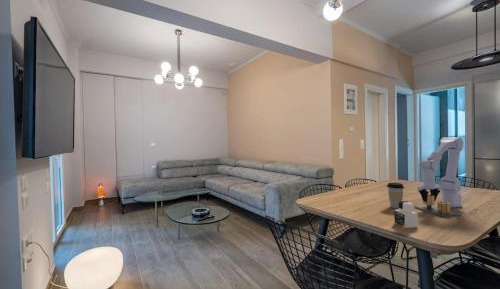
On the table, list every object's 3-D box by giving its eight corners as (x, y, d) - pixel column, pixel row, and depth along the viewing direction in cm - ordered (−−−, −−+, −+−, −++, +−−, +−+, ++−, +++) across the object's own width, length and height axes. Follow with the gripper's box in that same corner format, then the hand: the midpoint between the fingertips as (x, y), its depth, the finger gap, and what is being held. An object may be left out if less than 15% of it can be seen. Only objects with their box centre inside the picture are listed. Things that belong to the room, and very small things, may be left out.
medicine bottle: (394, 223, 120) (394, 200, 120) (406, 222, 121) (406, 199, 121) (404, 228, 113) (404, 204, 113) (417, 227, 114) (417, 203, 114)
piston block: (430, 206, 147) (430, 196, 147) (460, 215, 130) (460, 204, 130) (414, 207, 146) (414, 197, 145) (442, 217, 128) (442, 205, 128)
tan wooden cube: (428, 202, 146) (428, 193, 146) (436, 204, 140) (436, 195, 140) (420, 203, 145) (420, 194, 145) (429, 205, 139) (428, 196, 139)
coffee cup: (407, 209, 142) (407, 185, 142) (390, 208, 144) (390, 185, 144) (400, 205, 152) (400, 182, 151) (384, 204, 153) (384, 182, 153)
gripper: (433, 177, 147) (433, 198, 147) (413, 178, 144) (413, 200, 145) (444, 179, 140) (444, 201, 140) (423, 180, 138) (423, 203, 138)
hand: (429, 201), depth 142 cm, fingers closed on tan wooden cube, 6 cm apart
